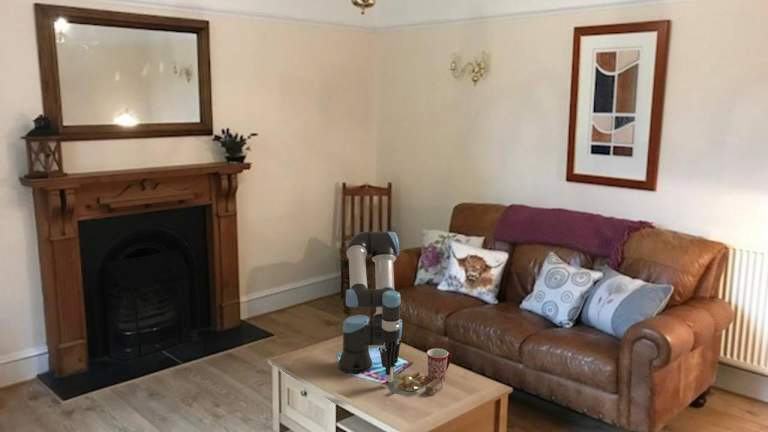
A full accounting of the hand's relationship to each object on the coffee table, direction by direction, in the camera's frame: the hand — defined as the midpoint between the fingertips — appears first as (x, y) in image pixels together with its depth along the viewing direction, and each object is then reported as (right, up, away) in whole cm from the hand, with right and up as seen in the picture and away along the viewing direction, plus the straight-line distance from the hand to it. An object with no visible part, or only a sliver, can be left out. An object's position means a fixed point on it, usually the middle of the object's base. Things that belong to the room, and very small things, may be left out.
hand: (389, 380), depth 269 cm
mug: (+22, -3, +10) cm, 24 cm away
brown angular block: (+19, -5, -3) cm, 19 cm away
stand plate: (+7, -4, +1) cm, 8 cm away
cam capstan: (+7, -3, 0) cm, 8 cm away
